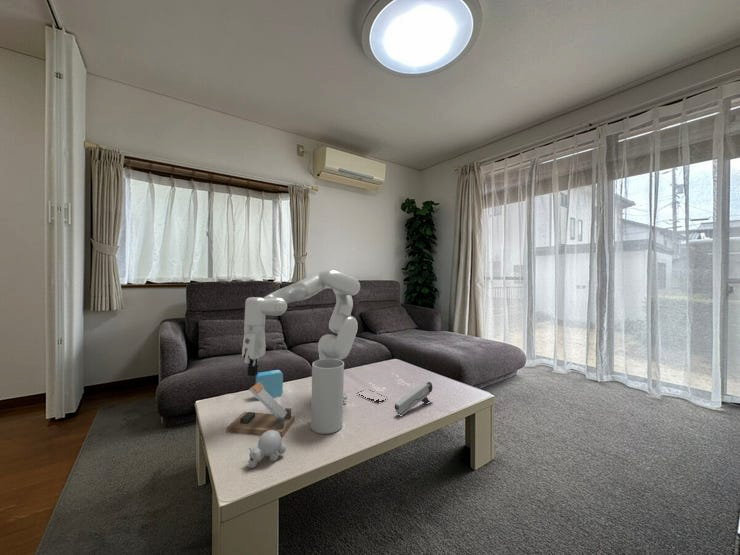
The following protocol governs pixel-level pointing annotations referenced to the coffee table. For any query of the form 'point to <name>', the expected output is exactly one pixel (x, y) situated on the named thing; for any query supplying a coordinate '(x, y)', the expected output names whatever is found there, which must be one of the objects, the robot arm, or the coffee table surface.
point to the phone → (372, 399)
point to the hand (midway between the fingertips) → (252, 375)
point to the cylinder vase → (327, 395)
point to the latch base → (261, 423)
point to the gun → (414, 398)
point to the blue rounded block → (271, 382)
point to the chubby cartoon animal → (266, 448)
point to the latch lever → (268, 400)
